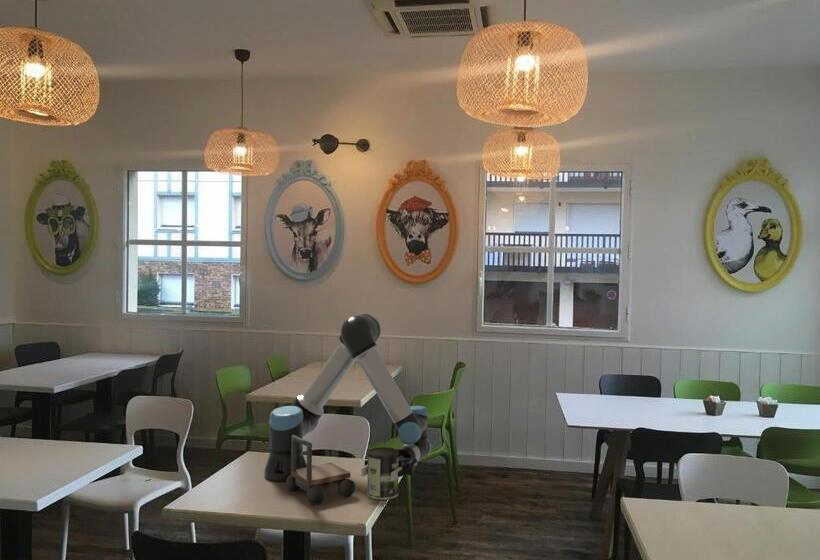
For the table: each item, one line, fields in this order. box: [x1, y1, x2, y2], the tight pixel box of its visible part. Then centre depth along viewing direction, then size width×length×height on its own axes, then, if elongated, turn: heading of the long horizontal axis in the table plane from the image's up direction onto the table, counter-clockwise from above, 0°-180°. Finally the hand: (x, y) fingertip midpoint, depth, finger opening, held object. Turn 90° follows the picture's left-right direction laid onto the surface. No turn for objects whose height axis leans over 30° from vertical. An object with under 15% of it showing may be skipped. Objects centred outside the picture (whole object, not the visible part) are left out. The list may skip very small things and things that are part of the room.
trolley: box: [285, 435, 356, 505], centre depth 209 cm, size 17×17×19 cm
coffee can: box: [366, 446, 399, 501], centre depth 207 cm, size 10×10×14 cm
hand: (377, 474), depth 204 cm, fingers closed on coffee can, 10 cm apart
